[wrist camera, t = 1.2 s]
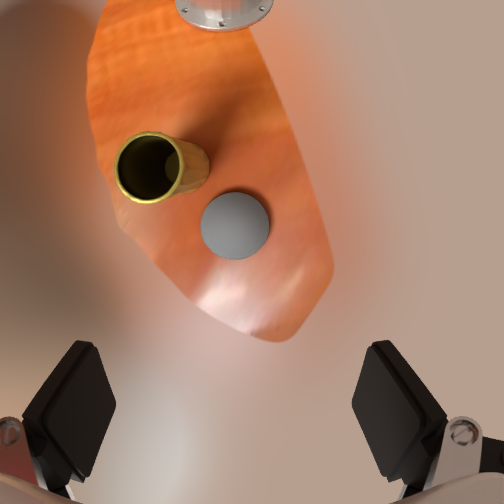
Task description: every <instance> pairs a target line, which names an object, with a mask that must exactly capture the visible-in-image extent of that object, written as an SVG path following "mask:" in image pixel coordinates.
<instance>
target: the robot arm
mask: <svg viewBox="0 0 504 504" xmlns="http://www.w3.org/2000/svg"><path fill="white" fill-rule="evenodd" d="M175 4H176V7H177V10H178V12H179V15H180V16H181V17H182V18H183V20H185V21H186V22H187V23H189V24H190V25H192V26H194V27H196V28H199V29H202V30H206V31H213V32H228V31H235V30H240V29H244V28H246V27H249V26H251V25H253V24H255V23H257V22H258V21H260V20H261V19H263V18H264V17H265V16H266V15H267V13H268V12H269V11H270V9H271V7H272V5H273V0H175ZM185 12H186V13H185ZM221 26H223V27H221ZM115 408H116V400H115V398H114V395H113V392H112V390H111V387H110V384H109V382H108V379H107V376H106V373H105V370H104V367H103V364H102V361H101V358H100V355H99V352H98V349H97V348H96V347H94V345H93V344H92V343H91V342H86V341H79V340H77V341H75V343H74V344H73V345H72V346H71V347H70V349H69V350H68V351H67V353H66V354H65V356H64V357H63V358H62V359H61V361H60V362H59V363H58V365H57V366H56V367H55V369H54V370H53V371H52V373H51V374H50V376H49V377H48V378H47V380H46V381H45V382H44V384H43V385H42V387H41V388H40V389H39V391H38V392H37V394H36V395H35V397H34V398H33V399H32V401H31V403H30V404H29V405H28V407H27V408H26V410H25V412H24V413H23V414H22V417H23V418H24V419H23V421H22V423H21V422H20V420H19V419H17V418H14V417H3V418H1V419H0V504H81V503H79V502H76V500H75V498H74V495H73V493H72V491H71V489H70V486H69V484H68V483H69V480H70V479H73V480H75V481H78V482H81V483H84V480H85V478H86V477H89V476H90V474H91V471H92V468H93V466H94V463H95V460H96V457H97V455H98V452H99V449H100V446H101V444H102V441H103V439H104V436H105V433H106V431H107V429H108V426H109V423H110V421H111V418H112V416H113V414H114V411H115ZM352 408H353V410H354V413H355V415H356V417H357V419H358V422H359V424H360V426H361V429H362V431H363V433H364V435H365V438H366V440H367V442H368V445H369V447H370V449H371V452H372V454H373V456H374V459H375V461H376V463H377V466H378V468H379V470H380V473H381V475H382V476H384V477H387V480H388V482H392V481H395V480H397V479H400V478H402V480H403V482H404V486H403V488H402V490H401V493H400V495H399V497H398V500H397V501H396V502H393V503H390V504H504V441H501V440H496V439H491V438H488V437H483V435H482V430H481V427H480V425H479V424H478V423H477V422H476V421H475V420H473V419H472V418H469V417H464V416H459V417H455V418H453V419H451V420H450V421H448V420H447V418H446V417H447V415H446V413H445V412H444V410H443V409H442V408H441V406H440V405H439V404H438V402H437V401H436V400H435V398H434V397H433V395H432V394H431V393H430V392H429V390H428V389H427V387H426V386H425V385H424V383H423V382H422V381H421V380H420V378H419V377H418V376H417V374H416V373H415V372H414V370H413V369H412V368H411V367H410V365H409V364H408V363H407V361H406V360H405V359H404V358H403V357H402V355H401V354H400V352H399V351H398V350H397V349H396V347H395V346H394V345H393V344H392V343H391V342H390V341H389V340H384V341H377V342H373V343H372V345H371V346H370V347H368V349H367V352H366V355H365V359H364V363H363V366H362V370H361V373H360V377H359V380H358V383H357V386H356V389H355V392H354V396H353V398H352Z"/></svg>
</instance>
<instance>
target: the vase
mask: <svg viewBox="0 0 504 504" xmlns="http://www.w3.org/2000/svg"><path fill="white" fill-rule="evenodd" d="M209 169H210V164H209V159H208V157H207V155H206V153H205V151H204V150H203V149H202V148H201V147H199V146H198V145H196V144H194V143H191V142H185V141H183V140H180V139H176V138H173V137H170V136H168V135H165V134H163V133H161V132H150V131H146V132H142V133H139V134H136V135H134V136H132V137H130V138H129V139H128V140H127V141H126V142H125V143H124V144H123V145H122V146H121V148H120V149H119V151H118V153H117V155H116V158H115V163H114V174H115V179H116V182H117V185H118V187H119V189H120V190H121V191H122V192H123V194H124V195H125V196H126V197H127V198H129V199H130V200H132V201H134V202H136V203H141V204H155V203H158V202H161V201H163V200H165V199H168V198H171V197H174V196H176V195H178V194H180V193H189V192H193V191H195V190H197V189H198V188H200V187H201V186H202V185H203V184H204V182H205V181H206V179H207V177H208V174H209Z"/></svg>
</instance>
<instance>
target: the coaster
mask: <svg viewBox="0 0 504 504" xmlns="http://www.w3.org/2000/svg"><path fill="white" fill-rule="evenodd" d="M268 233H269V220H268V216H267V213H266V211H265V209H264V208H263V206H262V205H261V204H260V203H259V202H258V201H257V200H256V199H255V198H253V197H252V196H250V195H247V194H245V193H240V192H230V193H225V194H222V195H220V196H218V197H217V198H215V199H214V200H213V201H212V202H211V203H210V204H209V205H208V206H207V208H206V209H205V211H204V213H203V215H202V219H201V234H202V237H203V240H204V242H205V244H206V245H207V246H208V248H209V249H210V250H211V251H212V252H214V253H215V254H216V255H218V256H220V257H222V258H225V259H230V260H239V259H244V258H247V257H250V256H252V255H253V254H255V253H256V252H257V251H259V250H260V248H261V247H262V246H263V245H264V243H265V241H266V239H267V236H268Z"/></svg>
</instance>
